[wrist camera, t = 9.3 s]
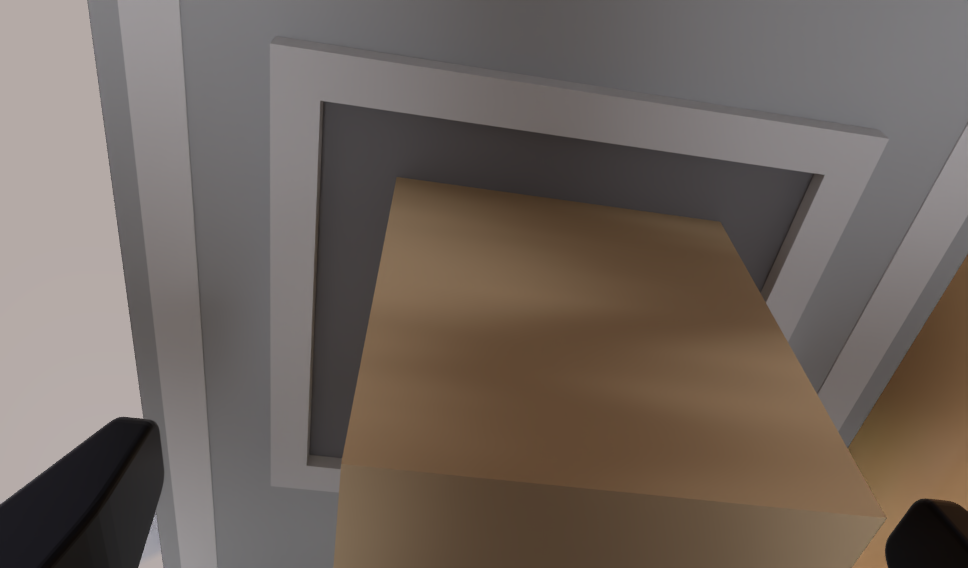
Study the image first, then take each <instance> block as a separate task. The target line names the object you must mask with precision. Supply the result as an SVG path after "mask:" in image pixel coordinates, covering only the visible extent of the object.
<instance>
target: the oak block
mask: <svg viewBox="0 0 968 568" xmlns="http://www.w3.org/2000/svg"><path fill="white" fill-rule="evenodd" d="M886 519H887V518H886V516H885V514H884V512H883V511H882V509H881V507H880V505H879V504H878V502H877V500H876V498H875V496H874V495H873V493H872V491H871V489H870V488H869V486H868V484H867V482H866V480H865V479H864V477H863V475H862V473H861V471H860V470H859V468H858V466H857V464H856V463H855V461H854V459H853V457H852V455H851V454H850V452H849V450H848V448H847V447H846V445H845V443H844V441H843V439H842V438H841V436H840V434H839V432H838V431H837V429H836V427H835V425H834V423H833V422H832V420H831V418H830V416H829V415H828V413H827V411H826V409H825V407H824V406H823V404H822V402H821V400H820V398H819V397H818V395H817V393H816V391H815V390H814V388H813V386H812V384H811V382H810V381H809V379H808V377H807V375H806V374H805V372H804V370H803V368H802V366H801V365H800V363H799V361H798V359H797V358H796V356H795V354H794V352H793V350H792V349H791V347H790V345H789V343H788V341H787V340H786V338H785V336H784V334H783V333H782V331H781V329H780V327H779V325H778V324H777V322H776V320H775V318H774V317H773V315H772V313H771V311H770V309H769V308H768V306H767V304H766V302H765V301H764V299H763V297H762V295H761V293H760V292H759V290H758V288H757V286H756V285H755V283H754V281H753V279H752V277H751V276H750V274H749V272H748V270H747V268H746V267H745V265H744V263H743V261H742V260H741V258H740V256H739V254H738V252H737V251H736V249H735V247H734V245H733V244H732V242H731V240H730V238H729V236H728V235H727V233H726V231H725V229H724V228H723V226H722V224H721V222H718V221H711V220H703V219H696V218H689V217H682V216H675V215H667V214H660V213H653V212H646V211H639V210H631V209H624V208H617V207H610V206H603V205H595V204H588V203H581V202H574V201H567V200H559V199H552V198H545V197H538V196H531V195H523V194H516V193H509V192H502V191H494V190H487V189H480V188H473V187H466V186H458V185H451V184H444V183H437V182H430V181H422V180H415V179H408V178H401V177H397V178H396V183H395V188H394V193H393V199H392V204H391V209H390V214H389V219H388V224H387V230H386V235H385V240H384V245H383V250H382V255H381V261H380V266H379V271H378V276H377V281H376V286H375V292H374V297H373V302H372V307H371V312H370V317H369V323H368V328H367V333H366V338H365V343H364V348H363V354H362V359H361V364H360V369H359V374H358V379H357V385H356V390H355V395H354V400H353V405H352V410H351V416H350V421H349V426H348V431H347V436H346V441H345V446H344V452H343V457H342V462H341V472H340V485H339V499H338V512H337V525H336V539H335V552H334V565H333V568H852V566H853V565H854V564H855V562H856V561H857V559H858V558H859V557H860V555H861V554H862V552H863V551H864V550H865V548H866V547H867V545H868V544H869V543H870V541H871V540H872V538H873V537H874V536H875V534H876V533H877V531H878V530H879V529H880V527H881V526H882V524H883V523H884V522H885V520H886Z"/></svg>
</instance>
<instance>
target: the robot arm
mask: <svg viewBox="0 0 968 568" xmlns="http://www.w3.org/2000/svg"><path fill="white" fill-rule="evenodd" d="M163 483H164V462H163V454H162V446H161V437H160V430H159V427H158V424H157V423H156V422H155V421H153V420H150V419H140V418H129V417H119V418H116V419H114V420H112V421H111V422H109V423H108V424H107V425H105V426H104V427H103V428H101V429H100V430H99V431H97V432H96V433H95V434H93V435H92V436H91V437H89V438H88V439H87V440H85V441H84V442H83V443H81V444H80V445H79V446H77V447H76V448H75V449H73V450H72V451H71V452H69V453H68V454H67V455H66V456H64V457H63V458H62V459H60V460H59V461H57V462H56V463H55V464H53V465H52V466H51V467H50V468H48V469H47V470H46V471H44V472H43V473H41V474H40V475H39V476H38V477H36V478H35V479H34V480H32V481H31V482H30V483H28V484H27V485H26V486H24V487H23V488H22V489H20V490H19V491H18V492H16V493H15V494H14V495H12V496H11V497H10V498H8V499H7V500H6V501H4V502H3V503H2V504H0V568H138V566H139V563H140V560H141V557H142V553H143V550H144V547H145V544H146V540H147V537H148V534H149V531H150V527H151V524H152V521H153V518H154V514H155V511H156V508H157V505H158V502H159V498H160V495H161V492H162V488H163ZM885 556H886V561H887V565H888V568H968V511H967V510H965V509H964V508H963V507H961V506H960V505H958V504H956V503H954V502H951V501H945V500H935V499H920V500H918V501H916V502H915V503H914V504H913V505H912V506H911V507H910V509H909V510H908V511H907V513H906V514H905V515H904V517H903V518H902V519H901V521H900V522H899V524H898V525H897V526H896V528H895V529H894V530H893V532H892V533H891V534H890V536H889V538H888V539H887V542H886V548H885Z"/></svg>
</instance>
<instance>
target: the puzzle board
mask: <svg viewBox="0 0 968 568" xmlns="http://www.w3.org/2000/svg"><path fill="white" fill-rule="evenodd" d="M87 1H88V8H89V16H90V23H91V31H92V37H93V38H92V39H93V45H94V54H95V61H96V68H97V76H98V83H99V90H100V98H101V106H102V113H103V120H104V127H105V135H106V142H107V149H108V158H109V165H110V173H111V180H112V188H113V195H114V202H115V210H116V217H117V225H118V232H119V239H120V247H121V254H122V261H123V269H124V276H125V283H126V292H127V299H128V307H129V314H130V321H131V329H132V336H133V344H134V351H135V359H136V366H137V373H138V381H139V389H140V396H141V404H142V410H143V418H144V419H150V420H153V421H155V422H156V423H157V424H158V427H159V430H160V437H161V446H162V454H163V462H164V483H163V488H162V492H161V495H160V498H159V502H158V505H157V508H156V515H157V523H158V530H159V538H160V545H161V552H162V560H163V567H164V568H333V565H334V552H335V539H336V525H337V512H338V499H339V485H340V472H341V462H342V457H343V452H344V446H345V441H346V436H347V431H348V426H349V421H350V416H351V410H352V405H353V400H354V395H355V390H356V385H357V379H358V374H359V369H360V364H361V359H362V354H363V348H364V343H365V338H366V333H367V328H368V323H369V317H370V312H371V307H372V302H373V297H374V292H375V286H376V281H377V276H378V271H379V266H380V261H381V255H382V250H383V245H384V240H385V235H386V230H387V224H388V219H389V214H390V209H391V204H392V199H393V193H394V188H395V183H396V178H397V177H401V178H408V179H415V180H422V181H430V182H437V183H444V184H451V185H458V186H466V187H473V188H480V189H487V190H494V191H502V192H509V193H516V194H523V195H531V196H538V197H545V198H552V199H559V200H567V201H574V202H581V203H588V204H595V205H603V206H610V207H617V208H624V209H631V210H639V211H646V212H653V213H660V214H667V215H675V216H682V217H689V218H696V219H703V220H711V221H718V222H721V224H722V226H723V228H724V229H725V231H726V233H727V235H728V236H729V238H730V240H731V242H732V244H733V245H734V247H735V249H736V251H737V252H738V254H739V256H740V258H741V260H742V261H743V263H744V265H745V267H746V268H747V270H748V272H749V274H750V276H751V277H752V279H753V281H754V283H755V285H756V286H757V288H758V290H759V292H760V293H761V295H762V297H763V299H764V301H765V302H766V304H767V306H768V308H769V309H770V311H771V313H772V315H773V317H774V318H775V320H776V322H777V324H778V325H779V327H780V329H781V331H782V333H783V334H784V336H785V338H786V340H787V341H788V343H789V345H790V347H791V349H792V350H793V352H794V354H795V356H796V358H797V359H798V361H799V363H800V365H801V366H802V368H803V370H804V372H805V374H806V375H807V377H808V379H809V381H810V382H811V384H812V386H813V388H814V390H815V391H816V393H817V395H818V397H819V398H820V400H821V402H822V404H823V406H824V407H825V409H826V411H827V413H828V415H829V416H830V418H831V420H832V422H833V423H834V425H835V427H836V429H837V431H838V432H839V434H840V436H841V438H842V439H843V441H844V443H845V445H846V447H847V448H848V447H849V445H850V443H851V442H852V440H853V439H854V437H855V435H856V434H857V432H858V430H859V429H860V427H861V426H862V424H863V422H864V421H865V419H866V418H867V416H868V414H869V413H870V411H871V409H872V408H873V406H874V405H875V403H876V401H877V400H878V398H879V397H880V395H881V393H882V392H883V390H884V388H885V387H886V385H887V384H888V382H889V380H890V379H891V377H892V376H893V374H894V372H895V371H896V369H897V367H898V366H899V364H900V363H901V361H902V359H903V358H904V356H905V355H906V353H907V351H908V350H909V348H910V346H911V345H912V343H913V342H914V340H915V338H916V337H917V335H918V334H919V332H920V330H921V329H922V327H923V325H924V324H925V322H926V321H927V319H928V317H929V316H930V314H931V313H932V311H933V309H934V308H935V306H936V304H937V303H938V301H939V300H940V298H941V296H942V295H943V293H944V292H945V290H946V288H947V287H948V285H949V283H950V282H951V280H952V279H953V277H954V275H955V274H956V272H957V271H958V269H959V267H960V266H961V264H962V262H963V261H964V259H965V258H966V256H967V254H968V0H87Z"/></svg>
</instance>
